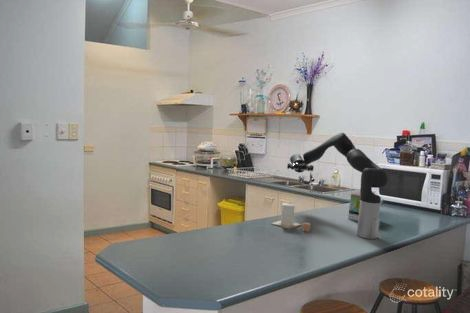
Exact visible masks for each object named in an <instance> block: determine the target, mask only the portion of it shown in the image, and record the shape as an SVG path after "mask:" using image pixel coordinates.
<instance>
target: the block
mask: <svg viewBox="0 0 470 313" xmlns="http://www.w3.org/2000/svg"><path fill="white" fill-rule="evenodd" d="M301 226H302V227H301V230H302V232H309V233H310V231H311V223H310V222H304V221H303V222H302V224H301Z"/></svg>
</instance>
